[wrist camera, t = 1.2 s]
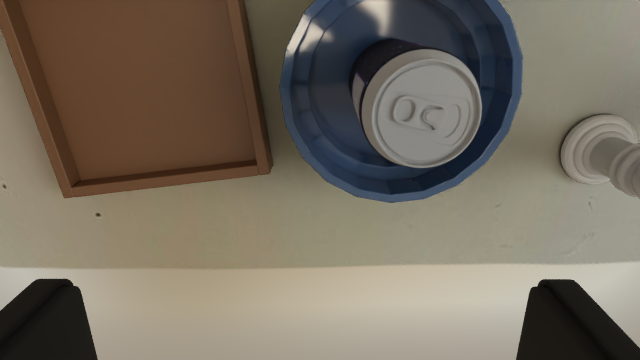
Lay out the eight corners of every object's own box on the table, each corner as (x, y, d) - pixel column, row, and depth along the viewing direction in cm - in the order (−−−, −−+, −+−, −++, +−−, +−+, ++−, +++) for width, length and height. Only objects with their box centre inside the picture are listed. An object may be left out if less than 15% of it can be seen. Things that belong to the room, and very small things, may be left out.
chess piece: (542, 154, 32) (620, 202, 23) (598, 98, 30) (703, 127, 22) (590, 194, 33) (680, 253, 25) (646, 141, 31) (763, 185, 23)
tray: (235, -47, 27) (228, -52, 25) (273, 165, 32) (269, 174, 31) (8, -13, 28) (-16, -15, 26) (79, 188, 33) (63, 198, 31)
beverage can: (414, 128, 31) (464, 188, 20) (339, 109, 31) (347, 160, 19) (439, 49, 29) (511, 67, 18) (360, 29, 29) (383, 33, 17)
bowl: (489, -46, 27) (527, -61, 22) (487, 161, 32) (518, 188, 27) (273, -15, 28) (261, -23, 23) (303, 183, 33) (299, 213, 28)
